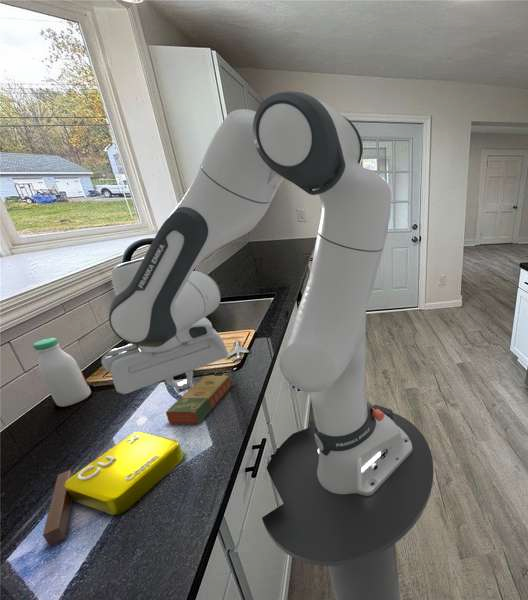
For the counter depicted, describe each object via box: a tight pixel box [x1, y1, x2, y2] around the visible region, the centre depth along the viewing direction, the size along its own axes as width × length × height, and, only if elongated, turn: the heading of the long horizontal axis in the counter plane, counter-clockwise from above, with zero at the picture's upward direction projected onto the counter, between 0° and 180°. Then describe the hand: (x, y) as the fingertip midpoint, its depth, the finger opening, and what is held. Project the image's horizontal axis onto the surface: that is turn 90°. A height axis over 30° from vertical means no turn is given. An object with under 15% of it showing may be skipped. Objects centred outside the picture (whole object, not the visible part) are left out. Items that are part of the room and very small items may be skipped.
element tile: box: [64, 431, 184, 516], centre depth 68 cm, size 15×15×5 cm
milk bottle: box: [32, 337, 92, 407], centre depth 92 cm, size 8×8×20 cm
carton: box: [165, 375, 233, 425], centre depth 89 cm, size 8×16×4 cm, turn 177°
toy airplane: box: [225, 339, 250, 364], centre depth 116 cm, size 8×21×2 cm, turn 27°
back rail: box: [42, 469, 75, 547], centre depth 62 cm, size 2×16×3 cm, turn 39°
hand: (185, 389), depth 70 cm, fingers closed
